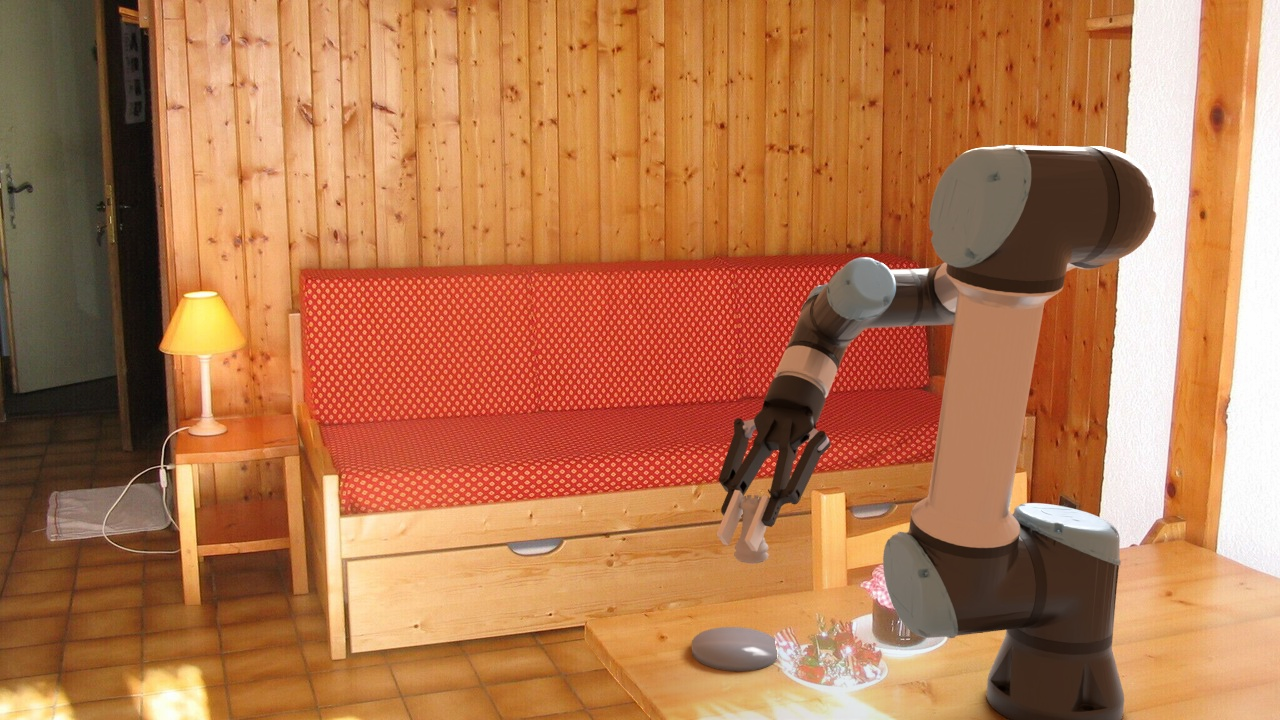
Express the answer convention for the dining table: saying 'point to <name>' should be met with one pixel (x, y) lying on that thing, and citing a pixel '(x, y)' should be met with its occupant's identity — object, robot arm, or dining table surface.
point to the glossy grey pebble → (734, 649)
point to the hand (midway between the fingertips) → (736, 542)
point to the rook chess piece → (741, 546)
